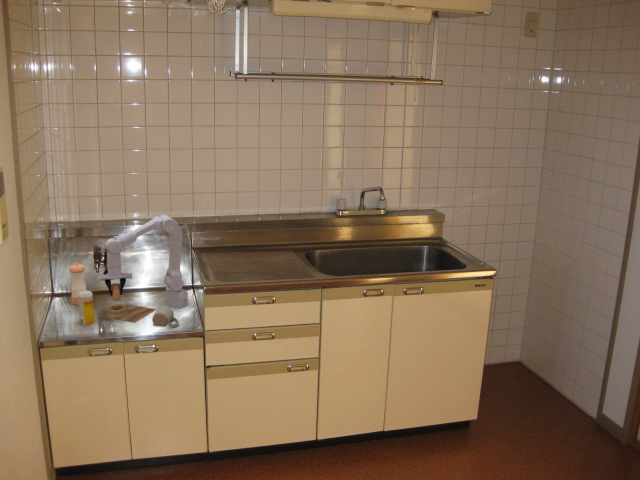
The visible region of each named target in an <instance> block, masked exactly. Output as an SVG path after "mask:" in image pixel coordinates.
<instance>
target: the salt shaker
mask: <svg viewBox="0 0 640 480" xmlns="http://www.w3.org/2000/svg"><path fill="white" fill-rule="evenodd" d="M68 268H69V269H68V270H69V272H70V274H71V285H70V286H71V288H70V289H71V297H70V301H71V304H72V305H76V306H79V305H78V294H79V292H80V291H85V290H87V285H86V281H85V270H86V267H85V265H84V264H80V263H79V262H76V263H75V264H72V265H70V267H68Z"/></svg>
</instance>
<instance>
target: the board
mask: <svg viewBox="0 0 640 480" xmlns="http://www.w3.org/2000/svg"><path fill="white" fill-rule="evenodd" d="M123 304H124V305H127V307H128V314H127V315H126V316H124V317H119V318H111V317H108V316H107V311H105V312H104V313H102V314H100V315H98V317H99V318H101V317H102V318H106V319H110V320H117V321H121V322H128V323H133V324H136V323H137V322H139V321H141V320H142V319H144V318H145V317H147V316H149V315H150V314H152V313H154V312H156V311H157V310H158V309H156V308H153V307H151V308H150V307H146V306H140V305H139V306H138V305H133V304H127V303H123Z"/></svg>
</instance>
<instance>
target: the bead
mask: <svg viewBox="0 0 640 480" xmlns="http://www.w3.org/2000/svg"><path fill="white" fill-rule="evenodd" d="M124 304H125V303H114V304H111V305H109V306H106V310H105V312H107V316H108V317H111V318H119V317H124V316H126V315H127V314H128V307H127V305H124Z"/></svg>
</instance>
